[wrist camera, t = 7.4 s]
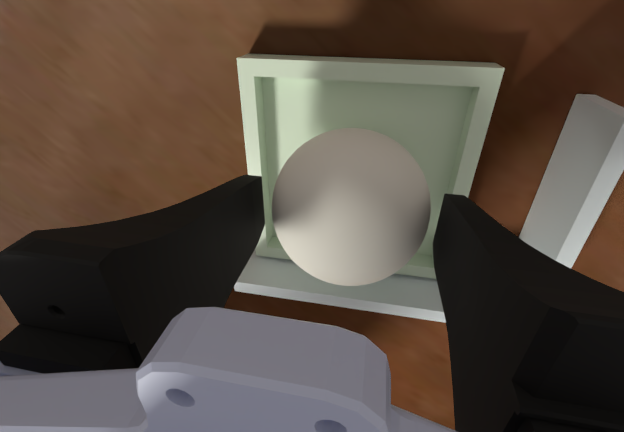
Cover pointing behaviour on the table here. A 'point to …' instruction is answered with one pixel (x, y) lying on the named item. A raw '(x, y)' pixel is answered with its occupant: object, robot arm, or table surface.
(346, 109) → the resting spot
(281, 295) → the acrylic walls
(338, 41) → the table surface
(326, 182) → the ball
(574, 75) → the table surface
